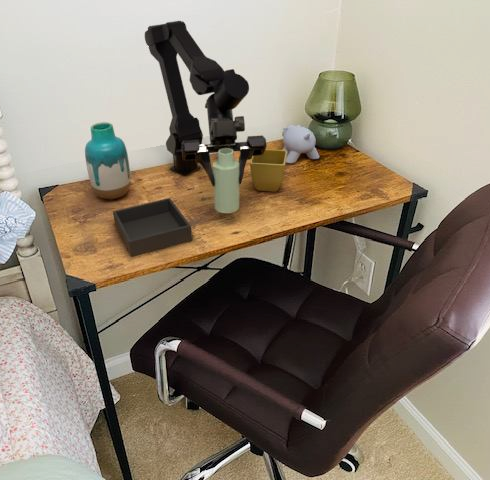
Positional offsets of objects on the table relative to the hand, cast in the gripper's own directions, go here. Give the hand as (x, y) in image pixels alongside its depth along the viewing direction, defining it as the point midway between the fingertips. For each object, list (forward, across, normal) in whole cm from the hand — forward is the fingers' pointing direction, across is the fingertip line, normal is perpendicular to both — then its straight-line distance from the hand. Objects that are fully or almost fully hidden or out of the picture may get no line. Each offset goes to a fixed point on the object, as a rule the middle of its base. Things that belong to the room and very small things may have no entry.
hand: (226, 184), depth 109 cm
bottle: (+4, 0, +6) cm, 7 cm away
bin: (+8, -18, +7) cm, 21 cm away
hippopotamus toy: (-18, +25, +34) cm, 46 cm away
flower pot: (-4, +13, +20) cm, 24 cm away
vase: (-6, -28, +22) cm, 36 cm away
